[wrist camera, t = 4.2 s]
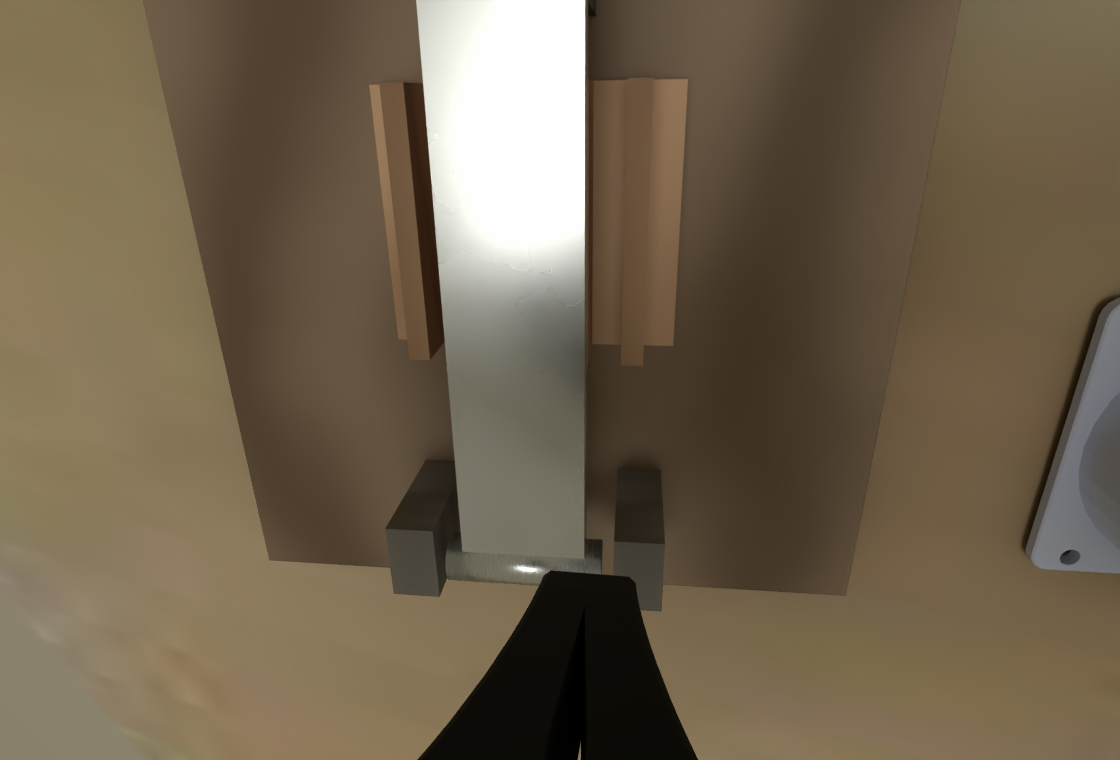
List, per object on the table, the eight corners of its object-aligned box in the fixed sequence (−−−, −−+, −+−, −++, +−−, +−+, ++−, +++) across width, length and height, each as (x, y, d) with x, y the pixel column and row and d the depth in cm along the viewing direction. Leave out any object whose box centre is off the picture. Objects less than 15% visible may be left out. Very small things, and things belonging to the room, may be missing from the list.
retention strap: (612, -109, 12) (609, -132, 11) (602, 568, 17) (600, 599, 16) (402, -99, 12) (379, -120, 11) (459, 560, 18) (447, 590, 17)
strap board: (991, -267, 13) (1153, -436, 9) (836, 573, 21) (884, 689, 16) (125, -207, 15) (-69, -322, 11) (284, 541, 22) (207, 638, 18)
